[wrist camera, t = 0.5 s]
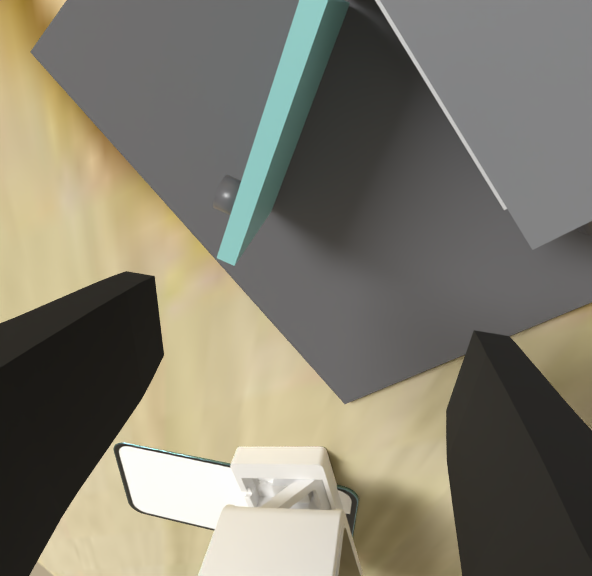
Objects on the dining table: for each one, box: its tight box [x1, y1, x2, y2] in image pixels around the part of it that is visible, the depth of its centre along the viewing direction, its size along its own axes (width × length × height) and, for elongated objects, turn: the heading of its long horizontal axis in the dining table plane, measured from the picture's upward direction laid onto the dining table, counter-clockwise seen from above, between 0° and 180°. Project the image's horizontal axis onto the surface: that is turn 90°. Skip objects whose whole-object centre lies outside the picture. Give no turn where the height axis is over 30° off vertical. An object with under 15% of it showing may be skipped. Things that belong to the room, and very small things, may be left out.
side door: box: [213, 0, 350, 266], centre depth 14 cm, size 2×8×5 cm, turn 158°
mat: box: [31, 0, 592, 404], centre depth 14 cm, size 24×20×1 cm
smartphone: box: [114, 443, 359, 538], centre depth 30 cm, size 8×1×16 cm
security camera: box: [198, 446, 363, 576], centre depth 23 cm, size 6×7×10 cm
